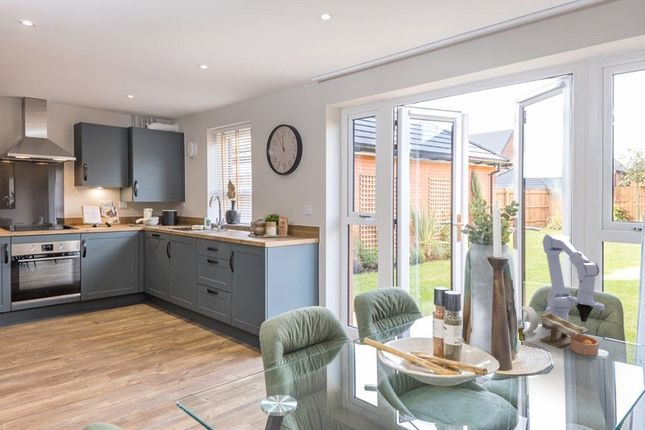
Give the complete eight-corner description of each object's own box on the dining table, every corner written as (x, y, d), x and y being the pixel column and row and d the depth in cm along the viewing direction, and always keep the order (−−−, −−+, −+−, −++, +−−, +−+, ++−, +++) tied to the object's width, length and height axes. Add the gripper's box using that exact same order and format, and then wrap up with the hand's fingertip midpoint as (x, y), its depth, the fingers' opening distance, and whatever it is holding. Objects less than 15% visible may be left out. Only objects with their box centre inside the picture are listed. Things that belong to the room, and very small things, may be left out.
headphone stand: (526, 330, 205) (528, 305, 203) (537, 335, 199) (539, 309, 198) (519, 332, 203) (521, 307, 201) (530, 337, 197) (532, 311, 196)
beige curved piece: (538, 326, 196) (541, 315, 195) (553, 320, 203) (555, 309, 201) (573, 343, 184) (576, 332, 182) (587, 337, 191) (590, 325, 189)
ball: (579, 340, 183) (589, 342, 180) (584, 338, 185) (594, 340, 182) (580, 350, 183) (590, 352, 180) (585, 347, 185) (595, 349, 182)
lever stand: (540, 341, 193) (541, 324, 192) (556, 334, 200) (557, 318, 199) (560, 348, 185) (562, 331, 184) (576, 341, 193) (577, 324, 192)
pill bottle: (520, 347, 187) (521, 322, 186) (505, 343, 191) (506, 319, 189) (523, 342, 192) (525, 317, 191) (509, 338, 196) (510, 314, 194)
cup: (565, 348, 185) (565, 338, 185) (577, 342, 191) (578, 332, 190) (590, 357, 177) (591, 346, 177) (602, 351, 183) (603, 340, 182)
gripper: (564, 288, 191) (561, 318, 193) (600, 296, 179) (597, 328, 181) (572, 285, 195) (570, 314, 197) (608, 293, 183) (605, 325, 185)
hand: (583, 321), depth 189 cm, fingers closed
